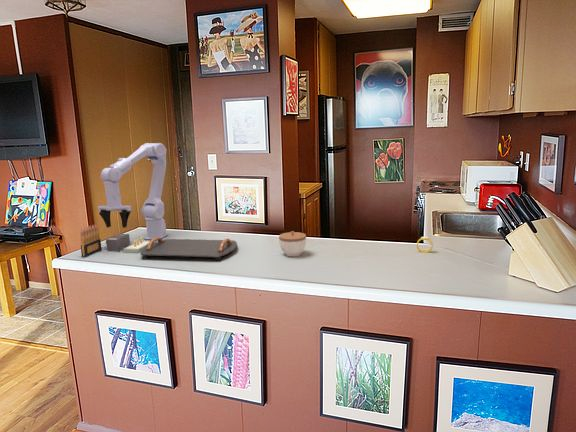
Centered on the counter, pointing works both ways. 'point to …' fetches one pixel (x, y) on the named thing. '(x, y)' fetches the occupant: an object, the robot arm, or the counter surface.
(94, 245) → the ammunition clip
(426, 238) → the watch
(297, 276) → the counter surface
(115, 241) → the block
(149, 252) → the serving board
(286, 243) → the lidded jar
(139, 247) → the pin header
